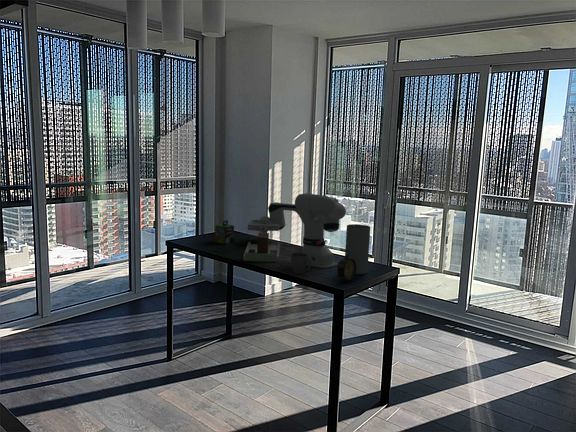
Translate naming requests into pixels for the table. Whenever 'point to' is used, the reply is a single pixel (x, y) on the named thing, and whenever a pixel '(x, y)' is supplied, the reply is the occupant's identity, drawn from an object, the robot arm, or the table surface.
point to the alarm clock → (346, 268)
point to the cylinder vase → (358, 246)
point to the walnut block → (263, 243)
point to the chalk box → (224, 233)
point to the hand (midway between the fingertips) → (263, 229)
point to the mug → (300, 262)
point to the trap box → (261, 254)
